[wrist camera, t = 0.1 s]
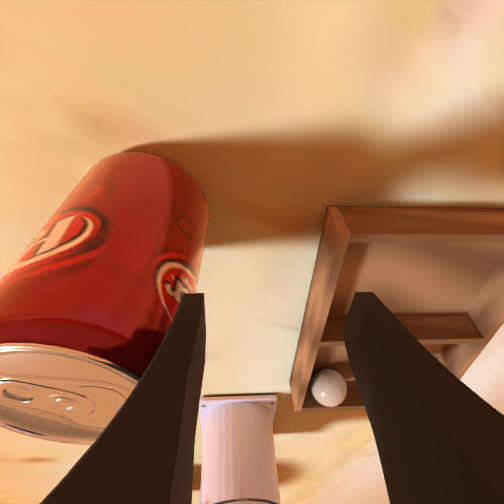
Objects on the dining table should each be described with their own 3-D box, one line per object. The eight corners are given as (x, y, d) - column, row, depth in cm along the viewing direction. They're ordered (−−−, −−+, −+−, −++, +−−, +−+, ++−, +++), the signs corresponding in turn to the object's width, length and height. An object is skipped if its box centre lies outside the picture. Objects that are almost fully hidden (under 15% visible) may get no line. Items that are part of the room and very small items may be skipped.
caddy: (424, 377, 35) (439, 406, 32) (289, 381, 34) (294, 411, 31) (535, 208, 22) (571, 235, 20) (327, 206, 21) (340, 233, 19)
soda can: (231, 185, 19) (209, 385, 10) (182, 267, 23) (135, 461, 14) (103, 121, 17) (-76, 303, 8) (73, 223, 21) (-67, 422, 12)
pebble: (337, 380, 33) (347, 412, 31) (305, 381, 33) (312, 414, 30) (345, 361, 31) (355, 394, 29) (310, 362, 31) (318, 395, 28)
